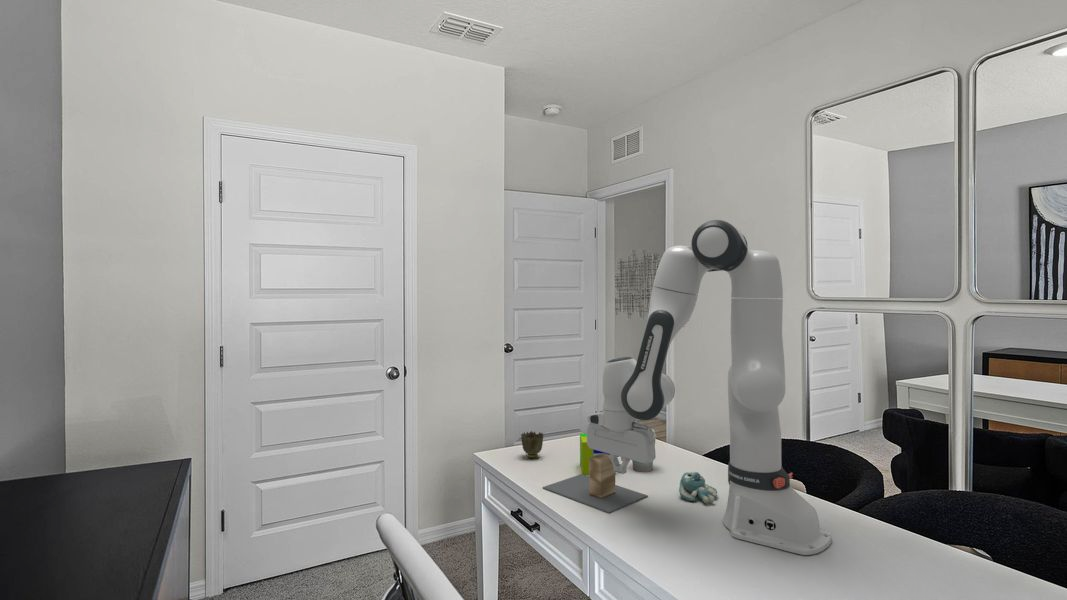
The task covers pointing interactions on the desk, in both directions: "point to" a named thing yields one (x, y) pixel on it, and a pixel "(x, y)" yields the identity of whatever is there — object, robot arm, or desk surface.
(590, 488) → the oak block
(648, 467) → the coffee cup
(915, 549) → the desk surface
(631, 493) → the mat
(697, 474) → the stuffed animal
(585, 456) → the puzzle toy
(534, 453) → the olive cup-shaped piece
